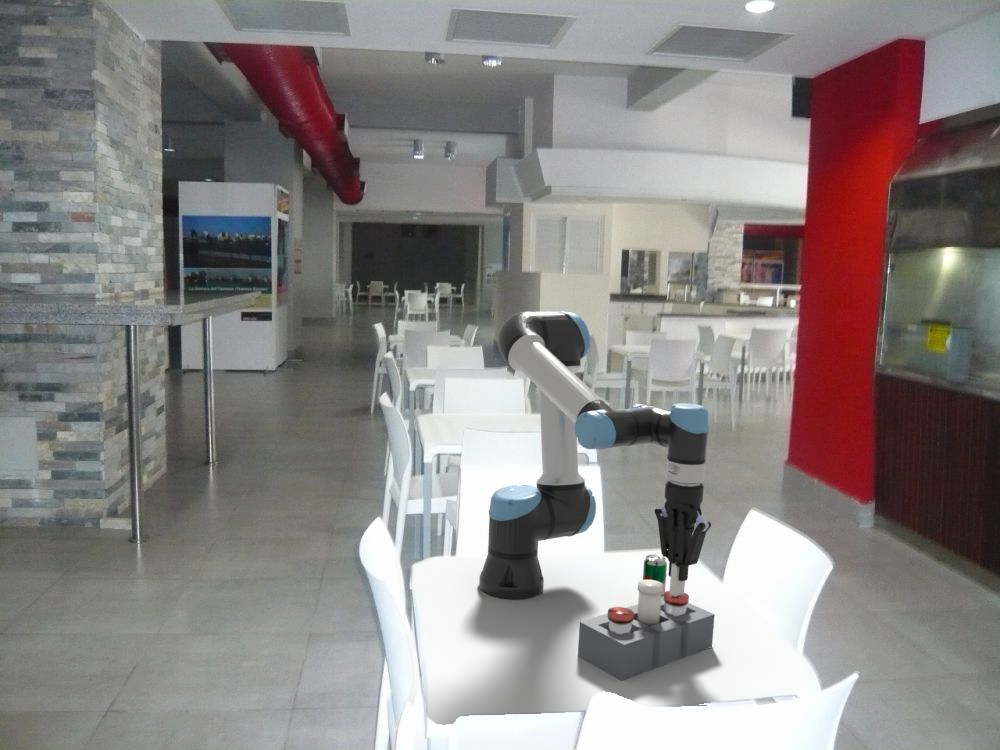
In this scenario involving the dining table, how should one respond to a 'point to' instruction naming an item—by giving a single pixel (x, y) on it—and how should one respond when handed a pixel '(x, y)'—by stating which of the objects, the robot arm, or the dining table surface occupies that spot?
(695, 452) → the robot arm
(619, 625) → the red-capped vial
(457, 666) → the dining table surface
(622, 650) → the gray vial holder
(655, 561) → the soda can
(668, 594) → the clear jar
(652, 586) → the white capped bottle
